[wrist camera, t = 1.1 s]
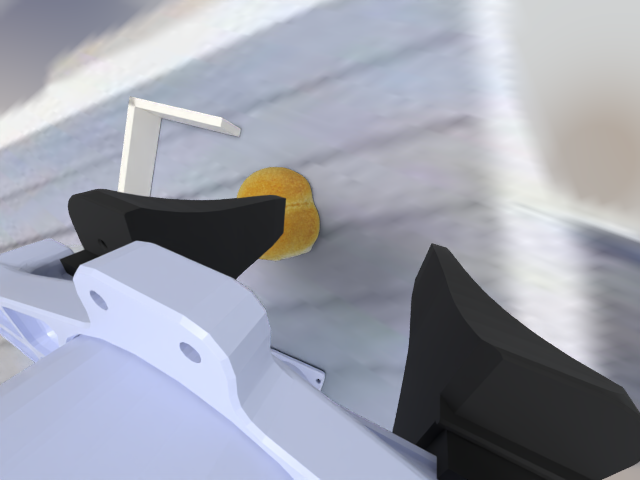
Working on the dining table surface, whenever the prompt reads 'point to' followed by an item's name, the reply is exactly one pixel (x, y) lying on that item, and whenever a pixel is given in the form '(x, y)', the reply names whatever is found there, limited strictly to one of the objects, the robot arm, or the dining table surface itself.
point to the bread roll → (287, 209)
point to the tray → (155, 140)
